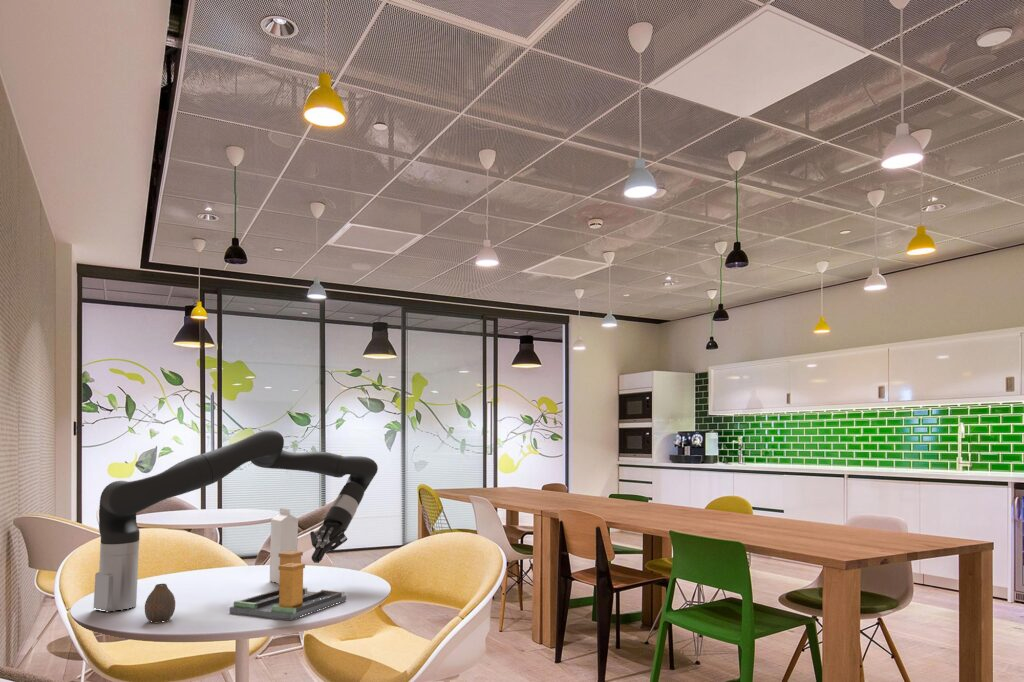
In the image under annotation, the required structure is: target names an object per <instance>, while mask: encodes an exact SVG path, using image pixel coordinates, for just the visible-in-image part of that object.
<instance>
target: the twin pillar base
mask: <svg viewBox="0 0 1024 682" xmlns="http://www.w3.org/2000/svg"><path fill="white" fill-rule="evenodd" d="M305 568H306V563H301V564H300V563H288V564H284V565H280V566H278V570H280V594H279V588H278V589H275V590H272V591H268V592H265V593H261V594H258V595H255V596H251V597H248V598H245V599H242V600H235V601H233V605H232V606H229V612H228V613H229V614H232V613H233V614H234V615H239V616H241V615H242V616H250V617H257V618H265V619H273V620H280V621H287V622H288V621H291V622H292V621H294V619H295V620H297V619H299V618H298V617H300V616H302V615H305V614H308V613H311V612H314V611H317V610H319V609H323V608H325V607H328V606H331V605H333V604H336V603H339V602H342V601H345V600H347V595H345V591H343V590H342V591H341V590H334V589H333V590H331V589H321V590H320V591H319V590H318V591H317V592H316V591H308V588H307V587H304V569H305ZM345 602H346V601H345ZM342 603H343V602H342ZM339 604H340V603H339ZM336 605H337V604H336ZM331 607H332V606H331ZM328 608H329V607H328ZM325 609H326V608H325ZM323 610H324V609H323ZM317 612H318V611H317ZM314 613H315V612H314ZM311 614H312V613H311ZM296 618H297V619H296ZM300 618H301V617H300Z"/></svg>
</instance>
